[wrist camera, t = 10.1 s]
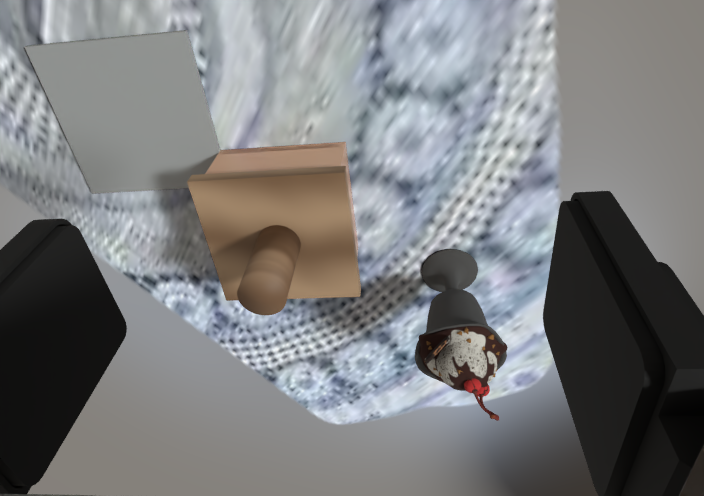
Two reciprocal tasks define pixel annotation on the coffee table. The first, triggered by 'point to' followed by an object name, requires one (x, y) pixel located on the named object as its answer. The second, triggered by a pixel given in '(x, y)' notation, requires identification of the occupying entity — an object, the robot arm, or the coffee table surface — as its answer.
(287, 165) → the open wooden box
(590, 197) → the robot arm
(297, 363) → the coffee table surface
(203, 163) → the mat
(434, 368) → the sundae
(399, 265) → the coffee table surface
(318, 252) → the lid
